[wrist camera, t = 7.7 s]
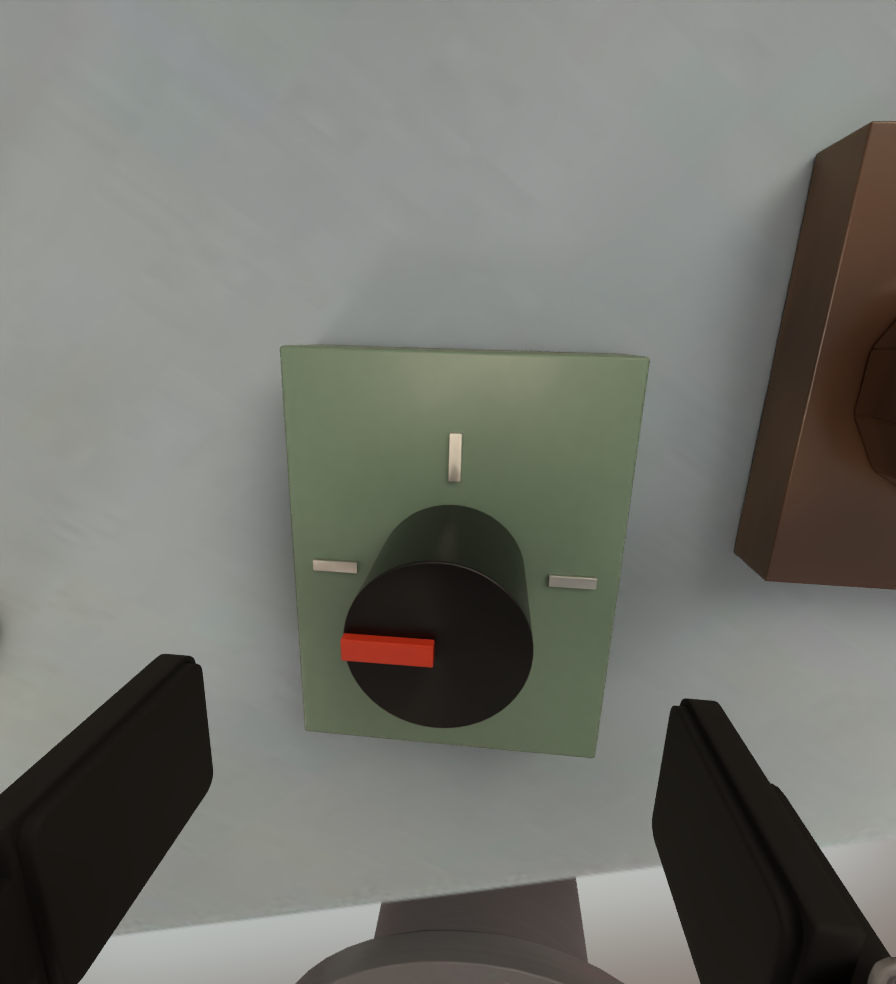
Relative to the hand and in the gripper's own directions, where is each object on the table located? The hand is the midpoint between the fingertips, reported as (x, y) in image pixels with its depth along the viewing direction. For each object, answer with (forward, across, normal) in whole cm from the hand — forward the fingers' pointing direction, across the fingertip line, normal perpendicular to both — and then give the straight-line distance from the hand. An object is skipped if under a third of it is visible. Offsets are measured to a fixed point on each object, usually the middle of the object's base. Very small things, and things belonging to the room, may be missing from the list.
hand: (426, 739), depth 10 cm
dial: (+6, 0, -1) cm, 6 cm away
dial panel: (+9, 0, -1) cm, 9 cm away
